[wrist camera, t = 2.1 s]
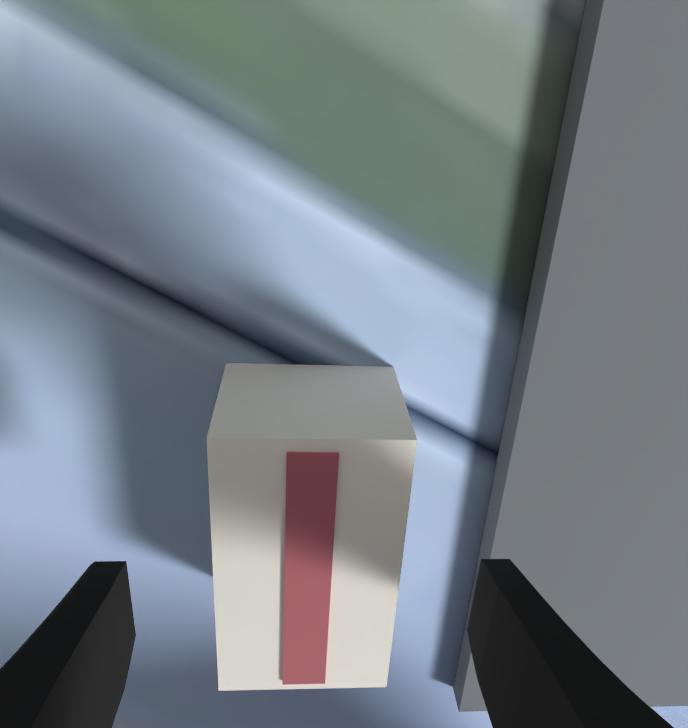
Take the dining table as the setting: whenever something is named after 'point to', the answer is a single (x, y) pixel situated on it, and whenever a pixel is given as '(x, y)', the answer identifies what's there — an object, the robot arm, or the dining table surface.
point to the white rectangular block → (307, 523)
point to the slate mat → (607, 365)
